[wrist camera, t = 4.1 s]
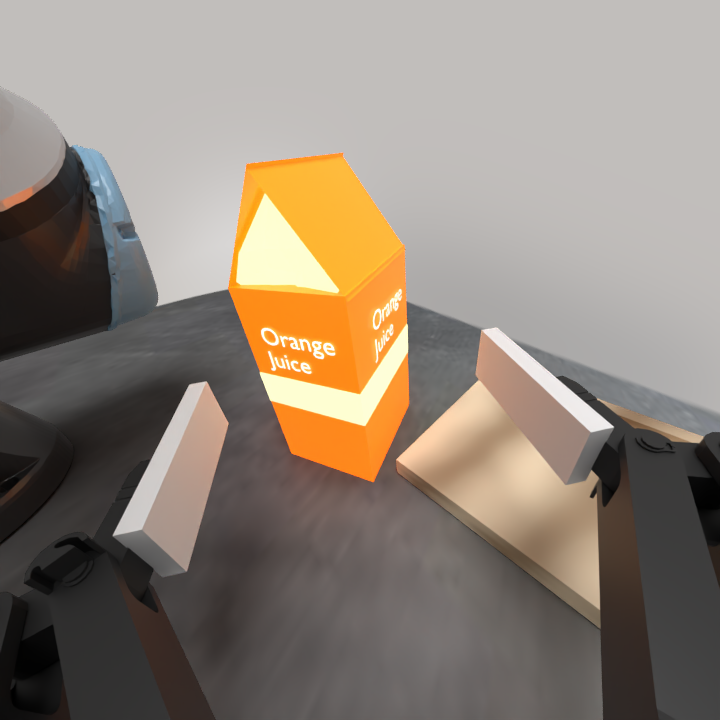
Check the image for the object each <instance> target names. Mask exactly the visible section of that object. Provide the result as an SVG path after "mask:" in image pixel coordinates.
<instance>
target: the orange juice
mask: <svg viewBox="0 0 720 720" xmlns="http://www.w3.org/2000/svg"><path fill="white" fill-rule="evenodd" d="M342 155H343V153H338V154H330V155H320V156H311V157H303V158H294V159H286V160H277V161H269V162H259V163H251V164H247V165H246V172H245V179H244V186H243V193H242V199H241V206H240V213H239V219H238V226H237V233H236V240H235V247H234V254H233V260H232V267H231V274H230V281H229V287H228V289H229V291H230V294H231V296H232V299H233V302H234V304H235V307H236V309H237V312H238V315H239V317H240V320H241V322H242V325H243V328H244V330H245V333H246V336H247V338H248V341H249V343H250V346H251V349H252V351H253V354H254V357H255V359H256V362H257V364H258V367H259V370H260V375H261V377H262V380H263V383H264V385H265V388H266V390H267V393H268V396H269V398H270V401H272V404H273V406H274V409H275V412H276V414H277V417H278V419H279V422H280V425H281V427H282V430H283V433H284V435H285V438H286V440H287V443H288V446H289V448H290V451H291V453H292V454H295V455H298V456H301V457H303V458H306V459H309V460H312V461H315V462H318V463H320V464H323V465H326V466H329V467H332V468H335V469H338V470H340V471H343V472H346V473H349V474H352V475H355V476H357V477H360V478H363V479H366V480H369V481H372V482H374V480H375V477H376V475H377V473H378V471H379V469H380V466H381V464H382V462H383V460H384V458H385V456H386V453H387V451H388V449H389V447H390V445H391V442H392V440H393V438H394V436H395V434H396V432H397V429H398V427H399V425H400V423H401V421H402V418H403V416H404V414H405V412H406V410H407V408H408V405H409V386H408V330H407V317H406V283H405V248H404V245H402V244H401V242H400V240H399V239H398V237H397V236H396V235H395V233H394V232H393V230H392V229H391V227H390V226H389V224H388V223H387V221H386V220H385V219H384V217H383V215H382V214H381V212H380V211H379V209H378V208H377V206H376V205H375V204H374V202H373V201H372V199H371V197H370V196H369V195H368V193H367V192H366V190H365V189H364V187H363V186H362V184H361V183H360V181H359V180H358V178H357V177H356V175H355V174H354V172H353V171H352V169H351V168H350V166H349V165H348V163H347V162H346V160H345V159H344V158H343V156H342Z"/></svg>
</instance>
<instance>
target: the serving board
mask: <svg viewBox="0 0 720 720" xmlns="http://www.w3.org/2000/svg"><path fill="white" fill-rule="evenodd" d="M597 400H600V399H597ZM600 401H601V402H602V403H603V404H605V405H606V406H607V407H608V408H610V409H611V410H612V411H613V412H615V413H616V414H617V415H618V416H620V417H621V418H622V419H623V420H625V421H626V422H627V423H628V424H630V425H631V426H632V427H634V428H641V429H648V430H651V431H654V432H657V433H659V434H661V435H663V436H665V437H667V438H668V439H670V440H671V441H673V442H690V443H700V442H701V440H702V439H703V438H704V437H703V436H700V435H697V434H695V433H692V432H689V431H686V430H683V429H681V428H678V427H675V426H672V425H670V424H667V423H664V422H661V421H658V420H656V419H653V418H650V417H647V416H645V415H642V414H639V413H636V412H633V411H631V410H628V409H625V408H622V407H620V406H617V405H614V404H611V403H608V402H606V401H603V400H600ZM396 463H397V473H399V474H400V475H401V476H403V477H404V478H405V479H407V480H408V481H409V482H410V483H412V484H413V485H414V486H416V487H417V488H418V489H420V490H421V491H422V492H423V493H425V494H426V495H427V496H429V497H430V498H431V499H432V500H434V501H435V502H436V503H438V504H439V505H440V506H442V507H443V508H444V509H445V510H447V511H448V512H449V513H451V514H452V515H453V516H455V517H456V518H457V519H458V520H460V521H461V522H462V523H464V524H465V525H466V526H467V527H469V528H470V529H471V530H473V531H474V532H475V533H477V534H478V535H479V536H480V537H482V538H483V539H484V540H486V541H487V542H488V543H490V544H491V545H492V546H493V547H495V548H496V549H497V550H499V551H500V552H501V553H502V554H504V555H505V556H506V557H508V558H509V559H510V560H512V561H513V562H514V563H515V564H517V565H518V566H519V567H521V568H522V569H523V570H525V571H526V572H527V573H528V574H530V575H531V576H532V577H534V578H535V579H536V580H537V581H539V582H540V583H541V584H543V585H544V586H545V587H547V588H548V589H549V590H550V591H552V592H553V593H554V594H556V595H557V596H558V597H559V598H561V599H562V600H563V601H565V602H566V603H567V604H569V605H570V606H571V607H572V608H574V609H575V610H576V611H578V612H579V613H580V614H582V615H583V616H584V617H585V618H587V619H588V620H589V621H591V622H592V623H593V624H594V625H596V626H597V627H598V628H600V629H601V623H600V588H599V552H598V517H597V493H596V495H595V497H594V498H590V494H591V491H592V490H593V488H594V486H595V484H596V483H597V481H598V479H599V477H598V476H597V475H596V474H595V473H594V472H593V471H592V470H591V472H590V474H589V476H588V477H587V479H586V481H582V482H578V483H574V484H569V485H565V484H564V483H563V481H562V480H561V479H560V478H559V477H558V475H557V474H556V473H555V472H554V470H553V469H552V468H551V467H550V466H549V464H548V463H547V462H546V461H545V459H544V458H543V457H542V456H541V455H540V453H539V452H538V451H537V450H536V448H535V447H534V446H533V445H532V444H531V442H530V441H529V440H528V439H527V437H526V436H525V435H524V434H523V433H522V431H521V430H520V429H519V428H518V426H517V425H516V424H515V423H514V422H513V420H512V419H511V418H510V417H509V415H508V414H507V413H506V412H505V410H504V409H503V408H502V407H501V406H500V404H499V403H498V402H497V401H496V399H495V398H494V397H493V396H492V395H491V393H490V392H489V391H488V390H487V388H486V387H485V386H484V385H483V384H482V382H481V381H480V380H478V381H477V382H476V383H475V384H474V385H473V386H472V387H471V388H470V389H469V390H468V391H467V392H466V393H465V394H464V395H463V396H462V397H461V398H460V399H459V400H458V401H457V402H456V403H455V404H453V405H452V406H451V407H450V408H449V409H448V410H447V411H446V412H445V413H444V414H443V415H442V416H441V417H440V418H439V419H438V420H437V421H436V422H435V423H434V424H433V425H432V426H431V427H430V428H429V429H428V430H426V431H425V432H424V433H423V434H422V435H421V436H420V437H419V438H418V439H417V440H416V441H415V442H414V443H413V444H412V445H411V446H410V447H409V448H408V449H407V450H406V451H405V452H404V453H403V454H402V455H401V456H399V457H398V458H397V459H396Z"/></svg>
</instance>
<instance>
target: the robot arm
mask: <svg viewBox="0 0 720 720" xmlns="http://www.w3.org/2000/svg"><path fill="white" fill-rule="evenodd" d="M157 302H158V292H157V288H156V284H155V281H154V277H153V274H152V271H151V268H150V265H149V263H148V260H147V257H146V254H145V252H144V249H143V246H142V244H141V241H140V239H139V237H138V235H137V233H136V232H135V227H134V224H133V222H132V219H131V217H130V213H129V210H128V208H127V205H126V203H125V201H124V198H123V196H122V193H121V191H120V189H119V186H118V184H117V182H116V180H115V178H114V175H113V173H112V171H111V169H110V167H109V165H108V163H107V162H106V160H105V158H104V157H103V156H102V154H101V153H99V152H98V151H96V150H94V149H87V148H83V147H81V146H80V147H78V145H74V146H72V147H69V146H68V144H67V142H66V141H65V139H64V137H63V135H62V134H61V132H60V130H59V129H58V127H57V126H56V124H55V123H54V122H53V121H52V119H51V118H50V117H49V116H48V115H47V114H46V113H45V112H44V111H43V110H41V109H40V108H38V107H37V106H36V105H34V104H33V103H31V102H29V101H27V100H25V99H24V98H22V97H20V96H18V95H16V94H14V93H12V92H10V91H8V90H6V89H4V88H2V87H0V362H1V361H4V360H8V359H11V358H14V357H18V356H21V355H25V354H28V353H32V352H35V351H38V350H42V349H45V348H49V347H52V346H56V345H59V344H62V343H66V342H69V341H73V340H76V339H79V338H83V337H86V336H90V335H93V334H97V333H100V332H103V331H110V330H113V329H115V328H116V327H117V326H118V325H121V324H123V323H126V322H129V321H132V320H134V319H137V318H140V317H143V316H145V315H147V314H149V313H150V312H152V311H153V310H154V308H155V307H156V305H157ZM476 376H477V377H478V379H479V380H480V381H481V382H482V384H483V385H484V386H485V387H486V388H487V390H488V391H489V392H490V393H491V395H492V396H493V397H494V398H495V399H496V401H497V402H498V403H499V404H500V406H501V407H502V408H503V409H504V410H505V412H506V413H507V414H508V415H509V417H510V418H511V419H512V420H513V422H514V423H515V424H516V425H517V426H518V428H519V429H520V430H521V431H522V433H523V434H524V435H525V436H526V437H527V439H528V440H529V441H530V442H531V444H532V445H533V446H534V447H535V448H536V450H537V451H538V452H539V453H540V455H541V456H542V457H543V458H544V459H545V461H546V462H547V463H548V464H549V466H550V467H551V468H552V469H553V470H554V472H555V473H556V474H557V475H558V477H559V478H560V479H561V480H562V481H563V483H564V484H565V485H569V484H574V483H578V482H582V481H586V479H587V477H588V476H589V474H590V472H591V470H592V471H593V472H594V473H595V474H596V475H597V476H598V477H599V479H598V481H597V483H596V484H595V486H594V488H593V490H592V491H591V494H590V498H594V497H595V495H596V493H597V517H598V552H599V588H600V623H601V658H602V693H603V720H720V432H712V433H709V434H707V435H705V437H704V438H703V439H702V440H701V442H700V443H690V442H673V441H671V440H670V439H668V438H667V437H665V436H663V435H661V434H659V433H657V432H654V431H651V430H648V429H641V428H634V427H632V426H631V425H630V424H628V423H627V422H626V421H625V420H623V419H622V418H621V417H620V416H618V415H617V414H616V413H615V412H613V411H612V410H611V409H610V408H608V407H607V406H606V405H605V404H603V403H602V402H601V401H600V400H597V398H596V397H595V396H593V395H592V394H591V393H588V391H587V390H586V389H585V388H583V387H582V386H581V385H580V384H578V383H577V382H575V381H573V380H571V379H569V378H566V377H564V376H559V377H554V376H553V375H552V374H551V373H550V372H549V371H547V370H546V369H545V368H544V367H543V366H542V365H540V364H539V363H538V362H537V361H536V360H534V359H533V358H532V357H531V356H530V355H529V354H527V353H526V352H525V351H524V350H523V349H521V348H520V347H519V346H518V345H517V344H516V343H514V342H513V341H512V340H511V339H510V338H508V337H507V336H506V335H505V334H504V333H503V332H501V331H500V330H499V329H498V328H491V329H485V330H482V331H481V338H480V346H479V353H478V361H477V368H476ZM228 424H229V423H228V421H227V420H226V418H225V416H224V414H223V412H222V410H221V408H220V406H219V404H218V402H217V400H216V398H215V397H214V395H213V393H212V391H211V389H210V387H209V385H208V383H207V381H206V382H201V383H195V384H190V385H189V386H188V388H187V390H186V392H185V394H184V396H183V398H182V400H181V402H180V404H179V406H178V408H177V410H176V412H175V414H174V416H173V418H172V420H171V422H170V424H169V426H168V428H167V430H166V432H165V434H164V436H163V438H162V439H161V441H160V443H159V445H158V447H157V449H156V451H155V453H154V455H153V457H152V459H151V460H146V461H141V462H140V463H139V464H138V465H137V466H136V468H135V469H134V470H133V471H132V472H131V473H130V474H129V475H128V477H127V479H126V481H125V482H124V484H123V486H122V488H121V489H122V490H121V491H119V493H118V495H117V497H116V499H115V502H114V503H113V504H112V506H111V508H110V509H109V511H108V513H107V515H106V517H105V518H104V520H103V522H102V524H101V526H100V527H99V529H98V531H97V533H96V535H95V536H94V538H93V540H92V539H91V538H90V537H88V536H87V535H86V534H85V533H80V532H75V533H71V534H68V535H65V536H63V537H61V538H60V539H58V540H56V541H54V542H53V543H52V544H50V545H49V546H48V547H47V548H45V549H44V550H43V551H42V552H41V553H40V554H39V555H38V556H37V557H36V558H35V560H34V561H33V562H32V563H31V565H30V566H29V568H28V570H27V572H26V573H25V578H24V583H25V584H27V585H28V586H30V587H32V588H34V590H32V591H30V592H28V593H26V594H24V595H22V596H20V597H17V596H15V595H13V594H10V593H8V592H1V593H0V720H216V719H215V717H214V715H213V713H212V711H211V709H210V706H209V704H208V702H207V700H206V698H205V696H204V694H203V692H202V690H201V687H200V685H199V683H198V681H197V679H196V677H195V675H194V673H193V670H192V668H191V666H190V664H189V662H188V660H187V658H186V656H185V653H184V651H183V649H182V647H181V645H180V643H179V641H178V639H177V636H176V634H175V632H174V630H173V628H172V626H171V624H170V622H169V619H168V617H167V615H166V613H165V611H164V609H163V607H162V605H161V602H160V600H159V598H158V596H157V594H156V592H155V590H154V588H153V586H152V585H151V584H150V583H149V581H150V578H151V575H152V572H153V570H154V571H155V572H157V573H158V574H159V575H160V576H161V577H166V576H171V575H175V574H180V573H184V572H187V570H188V566H189V562H190V559H191V555H192V552H193V548H194V545H195V541H196V538H197V534H198V531H199V527H200V523H201V520H202V516H203V513H204V509H205V506H206V502H207V499H208V495H209V492H210V488H211V484H212V481H213V477H214V474H215V470H216V467H217V463H218V460H219V456H220V453H221V449H222V445H223V442H224V438H225V435H226V431H227V428H228ZM73 453H74V450H73V445H72V443H71V442H70V441H69V440H68V439H67V438H66V437H65V436H64V435H63V434H62V433H61V432H60V431H59V430H58V429H57V428H56V427H55V426H54V425H52V424H51V423H49V422H47V421H45V420H43V419H40V418H38V417H36V416H34V415H31V414H29V413H27V412H24V411H22V410H20V409H18V408H15V407H13V406H11V405H9V404H6V403H4V402H2V401H0V542H1V541H2V540H3V539H5V538H6V537H7V536H8V535H10V534H11V533H12V532H13V531H14V530H16V529H17V528H18V527H19V526H20V525H21V524H22V523H24V522H25V521H26V520H27V519H28V518H29V517H30V516H31V515H32V514H33V513H34V512H35V511H36V510H37V509H38V508H39V507H40V506H41V505H42V504H43V503H44V502H45V501H46V500H47V499H48V497H49V496H50V495H51V494H52V493H53V492H54V490H55V489H56V488H57V487H58V485H59V484H60V482H61V481H62V479H63V478H64V476H65V475H66V473H67V471H68V469H69V467H70V465H71V462H72V459H73Z"/></svg>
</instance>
